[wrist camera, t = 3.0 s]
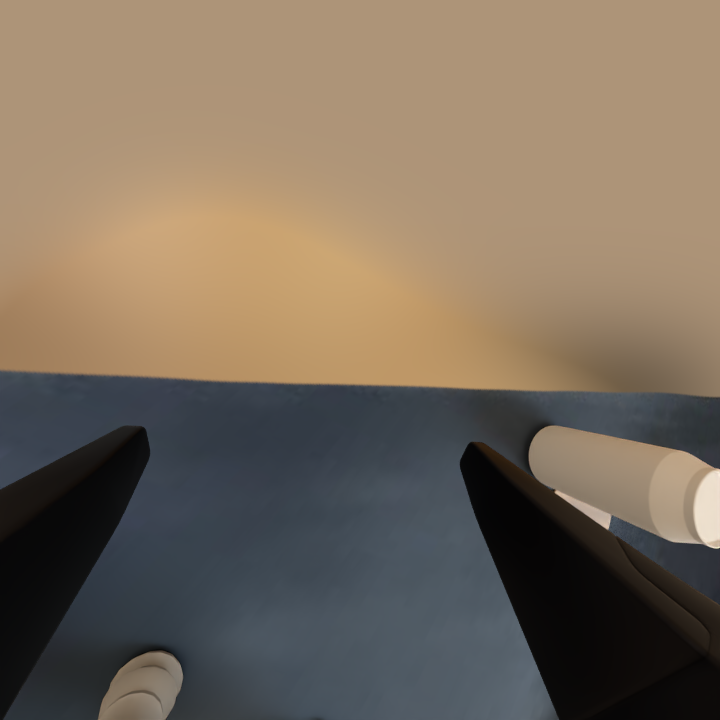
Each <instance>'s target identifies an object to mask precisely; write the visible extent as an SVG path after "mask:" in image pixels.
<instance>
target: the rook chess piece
mask: <svg viewBox="0 0 720 720" xmlns="http://www.w3.org/2000/svg"><path fill="white" fill-rule="evenodd" d="M182 680H183V673H182V669H181V665H180V663H179V661H178V660H177V659H176V658H175V657H174V656H173V654H171V653H168V652H166V651H163V650H159V651H149V652H147V653H144V654H142V655H140V656H137V657H136V658H134V659H132V660H131V661H130V662H128V663H127V664H126V665H125V666H123V667H122V668H121V669H120V670H119V671H118V673H117V674H116V676H115V677H114V679H113V680H112V682H111V684H110V688H109V691H108V692H107V694H106V695H105V697H104V698H103V701H102V705H101V708H100V713H99V717H98V720H165V719H166V718H167V716H168V715H169V713H170V711H171V710H172V708H173V706H174V704H175V700H176V696H177V695H178V693H179V692H180V690H181V685H182Z"/></svg>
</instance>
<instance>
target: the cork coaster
mask: <svg viewBox="0 0 720 720" xmlns="http://www.w3.org/2000/svg"><path fill="white" fill-rule="evenodd" d="M553 492H554V493H556V494H557V495H559V496H560V497H562V498H563V499H564V500H566V501H567V502H569V503H570V504H572V505H573V506H574V507H576V508H577V509H579V510H580V511H582V512H583V513H584V514H586V515H587V516H589V517H590V518H592V519H593V520H594V521H596V522H597V523H599V524H600V525H602V526H603V527H604V528H606V529H607V530H608V528H609V524H610V519H611V514H609V513H606V512H604V511H602V510H600V509H597V508H595V507H593V506H591V505H588V504H586V503H584V502H582V501H580V500H577V499H575V498H573V497H571V496H568V495H566V494H564V493H562V492H560V491H557V490H555V489H554V491H553Z"/></svg>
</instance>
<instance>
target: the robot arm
mask: <svg viewBox="0 0 720 720" xmlns="http://www.w3.org/2000/svg"><path fill="white" fill-rule="evenodd" d="M149 457H150V447H149V442H148V437H147V432H146V429H145V428H144V427H142V426H122V427H120V428H118V429H116V430H114V431H112V432H110V433H108V434H107V435H105V436H103V437H101V438H99V439H97V440H95V441H93V442H91V443H89V444H87V445H85V446H83V447H81V448H80V449H78V450H76V451H74V452H72V453H70V454H68V455H66V456H64V457H62V458H60V459H58V460H56V461H55V462H53V463H51V464H49V465H47V466H45V467H43V468H41V469H39V470H37V471H35V472H33V473H31V474H30V475H28V476H26V477H24V478H22V479H20V480H18V481H16V482H14V483H12V484H10V485H8V486H6V487H5V488H3V489H1V490H0V720H3V718H4V717H5V715H6V713H7V712H8V710H9V708H10V707H11V705H12V703H13V702H14V700H15V698H16V697H17V695H18V693H19V691H20V690H21V688H22V686H23V685H24V683H25V681H26V680H27V678H28V676H29V675H30V673H31V671H32V670H33V668H34V666H35V664H36V663H37V661H38V659H39V658H40V656H41V654H42V653H43V651H44V649H45V648H46V646H47V644H48V643H49V641H50V639H51V638H52V636H53V634H54V632H55V631H56V629H57V627H58V626H59V624H60V622H61V621H62V619H63V617H64V616H65V614H66V612H67V611H68V609H69V607H70V605H71V604H72V602H73V600H74V599H75V597H76V595H77V594H78V592H79V590H80V589H81V587H82V585H83V584H84V582H85V580H86V578H87V577H88V575H89V573H90V572H91V570H92V568H93V567H94V565H95V563H96V562H97V560H98V558H99V557H100V555H101V553H102V551H103V550H104V548H105V546H106V545H107V543H108V541H109V540H110V538H111V536H112V535H113V533H114V531H115V529H116V528H117V526H118V524H119V522H120V520H121V518H122V516H123V514H124V512H125V510H126V508H127V506H128V503H129V501H130V499H131V497H132V495H133V493H134V490H135V488H136V486H137V484H138V482H139V480H140V477H141V475H142V473H143V471H144V469H145V467H146V465H147V462H148V460H149ZM460 469H461V472H462V475H463V479H464V482H465V485H466V488H467V491H468V495H469V498H470V501H471V504H472V508H473V511H474V513H475V516H476V519H477V522H478V524H479V527H480V529H481V531H482V534H483V536H484V539H485V541H486V544H487V546H488V548H489V551H490V553H491V556H492V558H493V561H494V563H495V565H496V568H497V570H498V573H499V575H500V578H501V580H502V582H503V585H504V587H505V590H506V592H507V594H508V597H509V599H510V602H511V604H512V607H513V609H514V611H515V614H516V616H517V619H518V621H519V624H520V626H521V628H522V631H523V633H524V636H525V638H526V640H527V643H528V645H529V648H530V650H531V653H532V655H533V657H534V660H535V662H536V665H537V667H538V670H539V672H540V674H541V677H542V679H543V682H544V684H545V686H546V689H547V691H548V694H549V696H550V699H551V701H552V703H553V706H554V708H555V711H556V713H557V716H558V718H559V720H720V605H719V604H717V603H716V602H714V601H713V600H711V599H709V598H708V597H706V596H705V595H703V594H702V593H700V592H699V591H697V590H696V589H694V588H693V587H691V586H689V585H688V584H686V583H685V582H683V581H682V580H680V579H679V578H677V577H676V576H674V575H673V574H671V573H670V572H668V571H667V570H665V569H664V568H662V567H661V566H659V565H658V564H656V563H655V562H653V561H652V560H650V559H649V558H648V557H646V556H645V555H643V554H642V553H640V552H639V551H637V550H636V549H634V548H633V547H632V546H630V545H629V544H627V543H626V542H624V541H623V540H622V539H620V538H619V537H617V536H615V535H614V534H613V533H612V532H610V531H609V530H607V529H606V528H604V527H603V526H602V525H600V524H599V523H597V522H596V521H594V520H593V519H592V518H590V517H589V516H587V515H586V514H584V513H583V512H582V511H580V510H579V509H577V508H576V507H574V506H573V505H572V504H570V503H569V502H567V501H566V500H564V499H563V498H562V497H560V496H559V495H557V494H556V493H554V492H553V491H552V490H550V489H549V488H547V487H546V486H544V485H543V484H542V483H540V482H539V481H537V480H536V479H534V478H533V477H532V476H530V475H529V474H527V473H526V472H524V471H523V470H522V469H520V468H519V467H517V466H516V465H514V464H513V463H512V462H510V461H509V460H507V459H506V458H504V457H503V456H502V455H500V454H499V453H497V452H496V451H494V450H493V449H492V448H490V447H489V446H487V445H486V444H484V443H482V442H470V443H469V444H468V445H467V447H466V449H465V451H464V453H463V455H462V457H461V460H460Z"/></svg>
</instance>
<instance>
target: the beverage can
mask: <svg viewBox="0 0 720 720" xmlns="http://www.w3.org/2000/svg"><path fill="white" fill-rule="evenodd" d="M529 464H530V468H531V471H532V473H533V474H534V476H535V477H536V478H537V480H539V481H540V482H541V483H543V484H545V485H547V486H549V487H551V488H553V489H555V490H557V491H560V492H562V493H564V494H566V495H568V496H571V497H573V498H575V499H577V500H580V501H582V502H584V503H586V504H588V505H591V506H593V507H595V508H597V509H600V510H602V511H604V512H606V513H609V514H611V515H613V516H615V517H618V518H620V519H622V520H624V521H626V522H629V523H631V524H633V525H635V526H638V527H640V528H642V529H644V530H647V531H649V532H651V533H653V534H656V535H658V536H660V537H662V538H664V539H667V540H669V541H672V542H681V543H697V544H704V545H706V546H709V547H711V548H720V469H716V468H713V467H711V466H710V465H708V464H706V463H705V462H703V461H701V460H700V459H698V458H696V457H694V456H693V455H691V454H689V453H687V452H684V451H679V450H674V449H669V448H665V447H660V446H655V445H650V444H645V443H640V442H635V441H631V440H626V439H621V438H616V437H611V436H606V435H601V434H596V433H591V432H586V431H582V430H577V429H572V428H567V427H561V426H547V427H545V428H543V429H541V430H540V431H539V432H538V433H537V434H536V435H535V437H534V438H533V440H532V442H531V445H530V449H529Z"/></svg>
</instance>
